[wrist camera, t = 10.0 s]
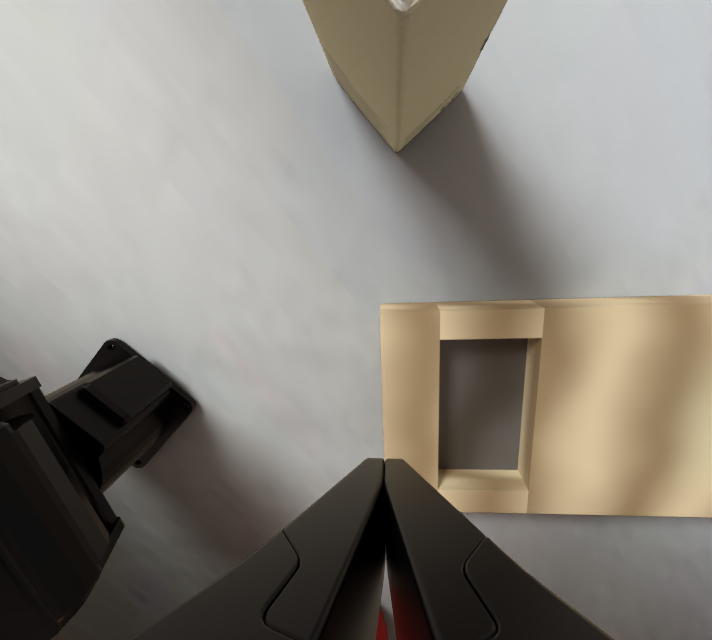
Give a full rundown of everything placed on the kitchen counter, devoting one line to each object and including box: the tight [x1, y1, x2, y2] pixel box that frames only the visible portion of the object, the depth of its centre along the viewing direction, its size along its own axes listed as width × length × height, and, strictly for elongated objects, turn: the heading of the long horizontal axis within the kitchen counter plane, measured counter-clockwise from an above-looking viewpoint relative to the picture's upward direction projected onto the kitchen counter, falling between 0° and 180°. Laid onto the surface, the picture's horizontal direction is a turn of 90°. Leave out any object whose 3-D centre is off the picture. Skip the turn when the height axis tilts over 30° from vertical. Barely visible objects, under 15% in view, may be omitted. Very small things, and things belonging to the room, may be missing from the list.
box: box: [303, 0, 507, 152], centre depth 11 cm, size 5×4×13 cm
